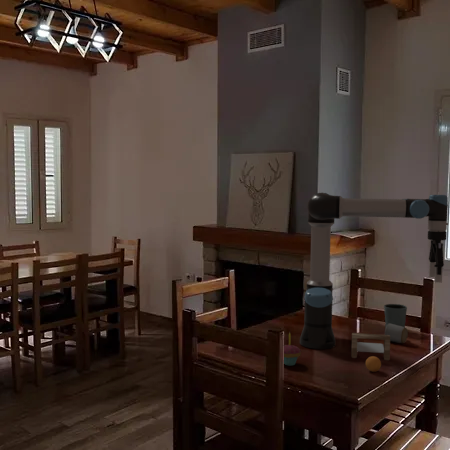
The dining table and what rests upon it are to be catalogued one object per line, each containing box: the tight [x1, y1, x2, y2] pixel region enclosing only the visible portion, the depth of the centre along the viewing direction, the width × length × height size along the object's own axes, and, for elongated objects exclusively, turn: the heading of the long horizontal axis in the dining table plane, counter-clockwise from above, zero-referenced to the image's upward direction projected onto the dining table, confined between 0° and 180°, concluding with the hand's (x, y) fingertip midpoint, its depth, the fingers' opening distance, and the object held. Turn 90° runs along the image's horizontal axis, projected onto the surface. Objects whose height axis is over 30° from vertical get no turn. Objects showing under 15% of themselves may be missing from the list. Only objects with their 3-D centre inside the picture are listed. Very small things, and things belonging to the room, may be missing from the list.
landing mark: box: [357, 341, 384, 354], centre depth 229 cm, size 13×13×1 cm
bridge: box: [350, 332, 391, 361], centre depth 215 cm, size 3×14×9 cm, turn 79°
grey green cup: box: [383, 303, 408, 329], centre depth 255 cm, size 10×10×12 cm
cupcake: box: [283, 331, 302, 367], centre depth 207 cm, size 9×8×12 cm
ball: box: [365, 355, 382, 373], centre depth 199 cm, size 6×6×6 cm
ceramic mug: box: [384, 323, 409, 344], centre depth 239 cm, size 11×8×8 cm
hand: (435, 279), depth 235 cm, fingers open, 13 cm apart
